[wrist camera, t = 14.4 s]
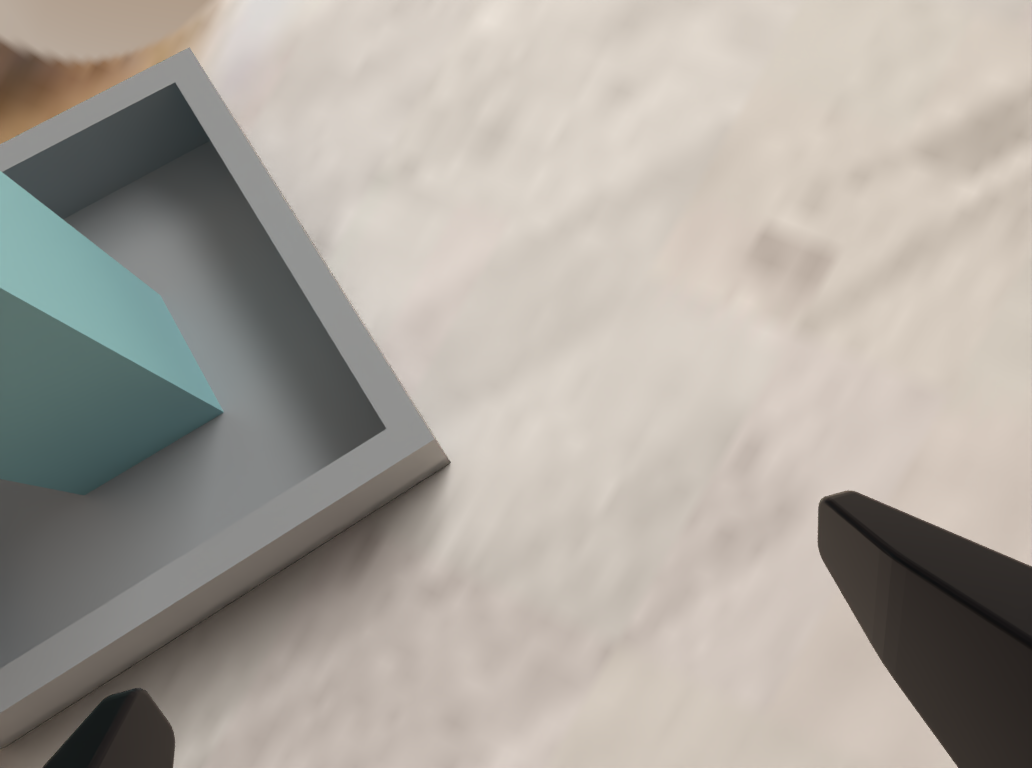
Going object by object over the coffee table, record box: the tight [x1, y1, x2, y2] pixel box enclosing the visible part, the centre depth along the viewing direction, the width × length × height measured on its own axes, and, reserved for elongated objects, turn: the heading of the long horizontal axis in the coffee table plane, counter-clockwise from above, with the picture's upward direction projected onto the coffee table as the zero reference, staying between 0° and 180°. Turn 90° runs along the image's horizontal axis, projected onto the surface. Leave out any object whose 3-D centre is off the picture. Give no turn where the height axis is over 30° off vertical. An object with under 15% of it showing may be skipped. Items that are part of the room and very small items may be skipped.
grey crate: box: [0, 48, 451, 749], centre depth 22 cm, size 16×16×4 cm
